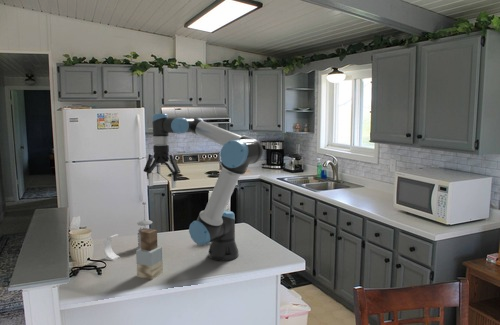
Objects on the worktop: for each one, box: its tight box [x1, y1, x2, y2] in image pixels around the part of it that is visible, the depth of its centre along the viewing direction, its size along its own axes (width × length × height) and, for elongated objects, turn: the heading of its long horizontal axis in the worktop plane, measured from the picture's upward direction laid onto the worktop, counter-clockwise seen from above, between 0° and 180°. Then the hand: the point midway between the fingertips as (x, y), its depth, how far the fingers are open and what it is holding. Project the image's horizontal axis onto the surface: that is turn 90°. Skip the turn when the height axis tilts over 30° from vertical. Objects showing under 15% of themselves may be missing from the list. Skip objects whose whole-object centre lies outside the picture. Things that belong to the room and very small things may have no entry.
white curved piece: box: [102, 233, 121, 261], centre depth 201 cm, size 5×6×12 cm
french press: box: [135, 201, 153, 250], centre depth 216 cm, size 10×12×25 cm
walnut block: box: [141, 228, 159, 251], centre depth 180 cm, size 5×5×8 cm
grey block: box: [135, 246, 163, 266], centre depth 180 cm, size 8×8×6 cm
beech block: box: [136, 259, 164, 280], centre depth 181 cm, size 8×8×6 cm
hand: (162, 186), depth 205 cm, fingers open, 13 cm apart
